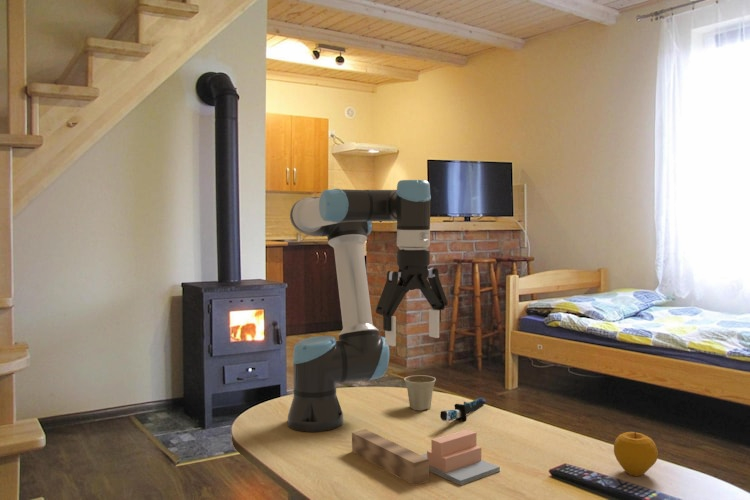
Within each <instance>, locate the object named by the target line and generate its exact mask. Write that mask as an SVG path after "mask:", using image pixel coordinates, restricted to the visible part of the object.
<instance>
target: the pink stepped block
mask: <svg viewBox="0 0 750 500" xmlns="http://www.w3.org/2000/svg"><path fill="white" fill-rule="evenodd" d="M430 440H431V443H430V444H431V449H430V450H426V453H424V454H421V455H422V456H424V457H426V458H428V459H429V473H430V472H431V473H433V474H435V475H437V476H440V477H442V478H443V479H446V480H448V481H450V482H452V483H454V484H457V485H459V486H463V485H465V484H469V483H471V482H474V481H476V480H480V479H482V478H484V477H485V478H486V477H488V476H490V475H494V474H496V473H499V472H501V470H500V467H501V466H499V465H496V464H494V463H491V462H490V461H486V460H484V459H482V447H481V446H479V445H477V432H476V431H473V430H471V429H463V430H459V431H457V432H452V433H449V434H446V435H443V436H439V437H436V438H435V437H434V438H433V439H430Z"/></svg>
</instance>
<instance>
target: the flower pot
mask: <svg viewBox="0 0 750 500" xmlns="http://www.w3.org/2000/svg"><path fill="white" fill-rule="evenodd" d="M403 380H404V382H405V385H406V389H407V390H406V391H407V396H408V401H409V402H408V403H409V408H410V409H412V410H413V411H424V410H429V409H431V408H432V400H433V393H434V392H433V391H434V386H435V382H436V381H437V379H436V377H434V376H430V375H424V374H423V375H420V374H419V375H417V374H416V375H409V376H406V377H404V378H403Z"/></svg>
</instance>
